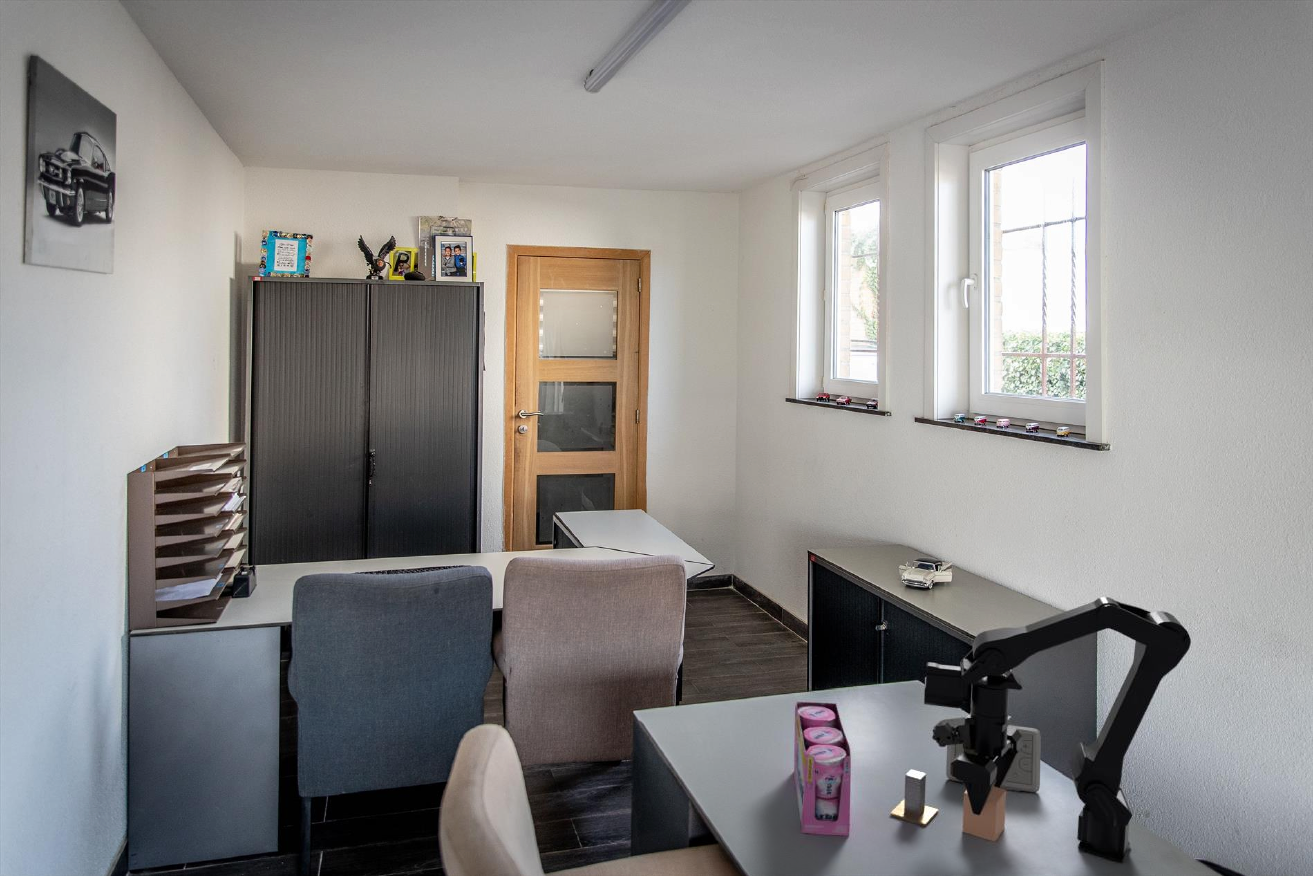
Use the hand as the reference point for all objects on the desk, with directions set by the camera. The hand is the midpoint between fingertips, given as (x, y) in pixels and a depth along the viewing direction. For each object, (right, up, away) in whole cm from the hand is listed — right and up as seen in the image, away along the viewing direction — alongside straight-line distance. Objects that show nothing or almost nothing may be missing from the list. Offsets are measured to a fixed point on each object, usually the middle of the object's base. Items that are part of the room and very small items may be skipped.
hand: (985, 803), depth 150 cm
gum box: (-25, -4, +10) cm, 27 cm away
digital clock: (+7, -3, +17) cm, 19 cm away
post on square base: (-10, -4, +5) cm, 12 cm away
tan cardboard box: (0, -5, +1) cm, 5 cm away
